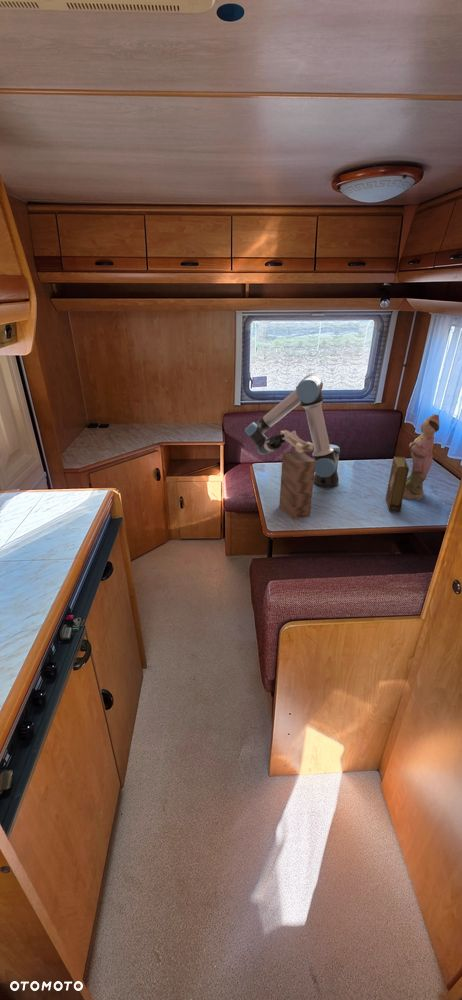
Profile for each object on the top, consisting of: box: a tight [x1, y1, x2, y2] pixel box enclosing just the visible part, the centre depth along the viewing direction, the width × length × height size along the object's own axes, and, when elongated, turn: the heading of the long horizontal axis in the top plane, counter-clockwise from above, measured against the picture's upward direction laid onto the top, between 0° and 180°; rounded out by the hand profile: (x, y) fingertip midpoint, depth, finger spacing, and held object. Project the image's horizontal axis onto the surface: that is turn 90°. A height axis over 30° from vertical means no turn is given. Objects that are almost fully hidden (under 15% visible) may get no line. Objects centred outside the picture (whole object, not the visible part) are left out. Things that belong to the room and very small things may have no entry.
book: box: [385, 455, 410, 513], centre depth 224 cm, size 16×6×25 cm, turn 168°
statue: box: [403, 414, 441, 500], centre depth 233 cm, size 16×17×45 cm
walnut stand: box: [278, 450, 316, 520], centre depth 216 cm, size 10×15×30 cm, turn 20°
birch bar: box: [279, 429, 314, 453], centre depth 211 cm, size 7×24×3 cm, turn 20°
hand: (291, 433), depth 213 cm, fingers closed on birch bar, 3 cm apart
